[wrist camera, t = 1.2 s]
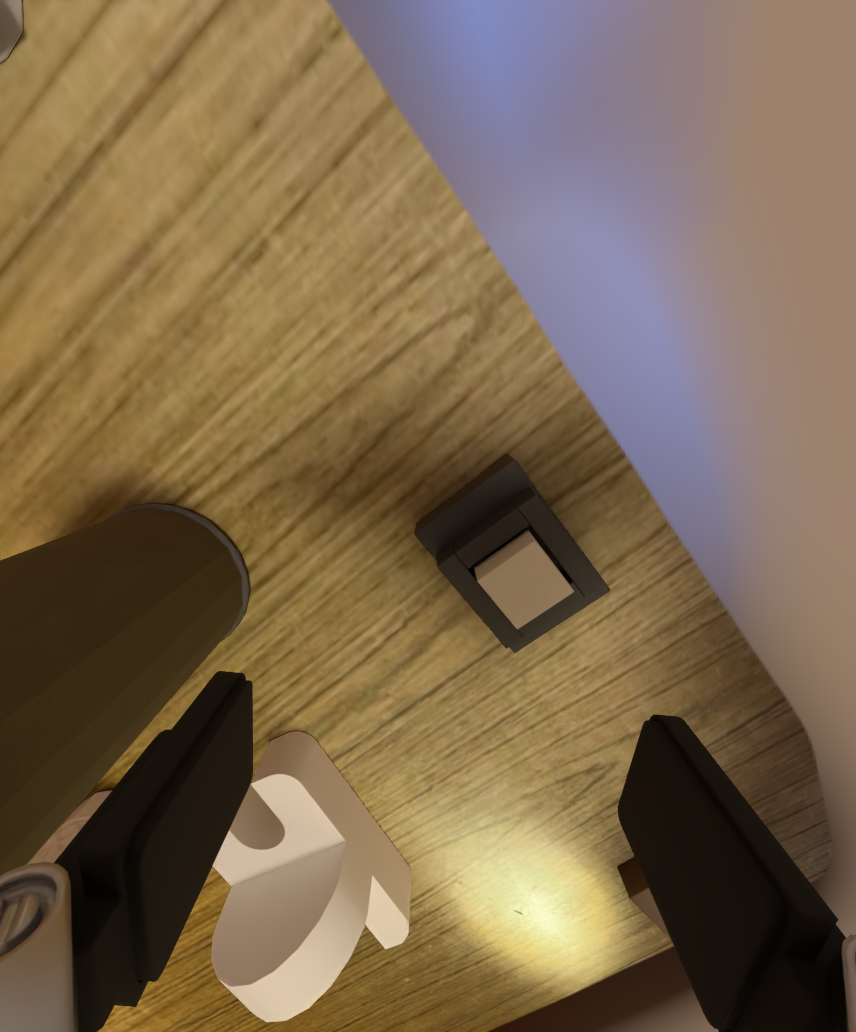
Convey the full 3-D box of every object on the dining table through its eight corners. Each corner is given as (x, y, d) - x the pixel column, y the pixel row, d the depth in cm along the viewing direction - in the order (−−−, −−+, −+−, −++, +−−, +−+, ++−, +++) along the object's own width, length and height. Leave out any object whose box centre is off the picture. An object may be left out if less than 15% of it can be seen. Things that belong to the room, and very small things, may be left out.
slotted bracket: (421, 883, 35) (417, 1064, 25) (323, 919, 36) (285, 1104, 27) (305, 725, 30) (247, 873, 21) (198, 772, 32) (99, 932, 22)
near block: (597, 575, 27) (624, 605, 23) (508, 634, 28) (520, 672, 24) (507, 453, 25) (520, 464, 21) (415, 523, 26) (412, 545, 22)
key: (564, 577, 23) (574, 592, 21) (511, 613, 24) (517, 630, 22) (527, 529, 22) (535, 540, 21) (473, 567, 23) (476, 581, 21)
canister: (167, 469, 25) (-672, 705, 6) (283, 595, 28) (-61, 1056, 8) (51, 568, 27) (-864, 986, 8) (169, 678, 29) (-324, 1210, 10)
